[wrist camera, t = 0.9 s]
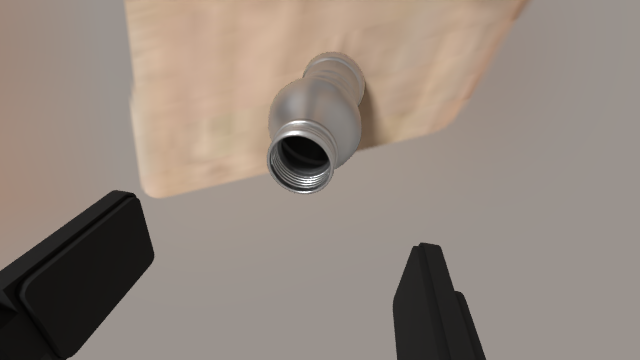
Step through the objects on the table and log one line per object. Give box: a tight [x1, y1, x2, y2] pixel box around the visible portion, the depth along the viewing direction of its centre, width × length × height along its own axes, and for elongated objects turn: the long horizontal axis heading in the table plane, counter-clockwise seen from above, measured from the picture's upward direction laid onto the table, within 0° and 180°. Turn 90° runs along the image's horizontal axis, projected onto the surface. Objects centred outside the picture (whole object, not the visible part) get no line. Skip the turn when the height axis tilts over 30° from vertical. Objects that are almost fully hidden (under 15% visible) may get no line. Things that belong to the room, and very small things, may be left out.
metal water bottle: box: [267, 52, 365, 194], centre depth 24 cm, size 6×7×20 cm
